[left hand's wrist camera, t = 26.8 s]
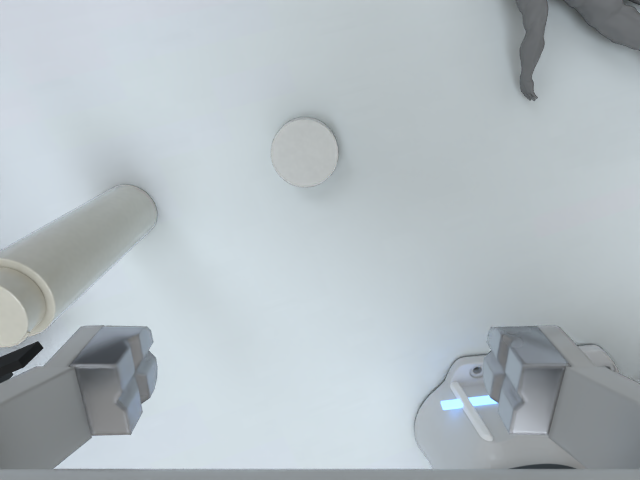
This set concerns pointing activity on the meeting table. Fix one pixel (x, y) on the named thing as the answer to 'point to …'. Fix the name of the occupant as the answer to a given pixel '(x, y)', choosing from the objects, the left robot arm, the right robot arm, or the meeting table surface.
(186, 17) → the meeting table surface
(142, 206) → the jar
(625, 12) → the figurine
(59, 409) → the left robot arm
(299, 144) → the lid
